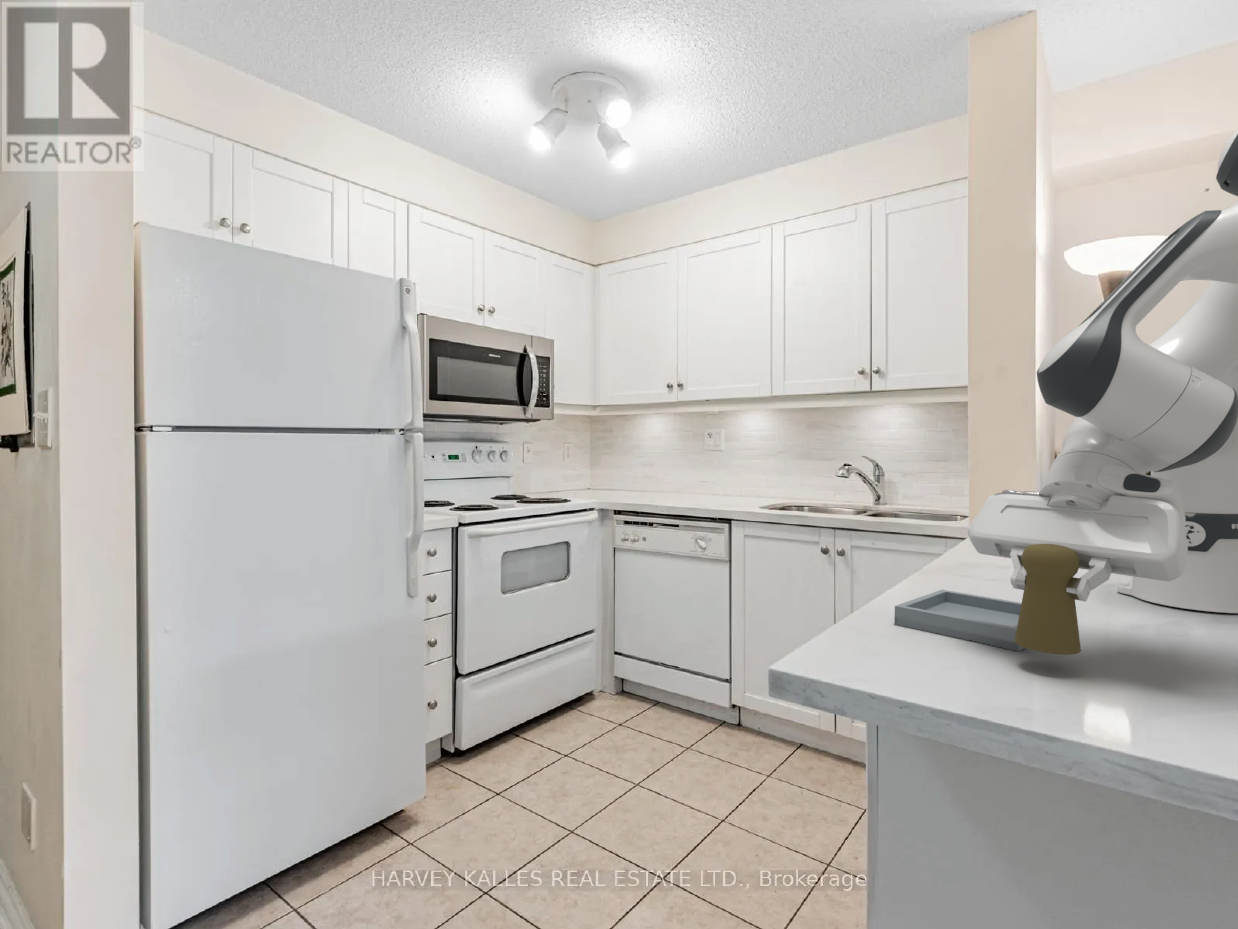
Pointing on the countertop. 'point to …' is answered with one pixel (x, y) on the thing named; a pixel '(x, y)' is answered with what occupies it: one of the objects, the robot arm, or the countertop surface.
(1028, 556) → the cork
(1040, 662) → the countertop surface
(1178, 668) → the countertop surface
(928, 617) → the slate grey tray
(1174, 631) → the countertop surface
